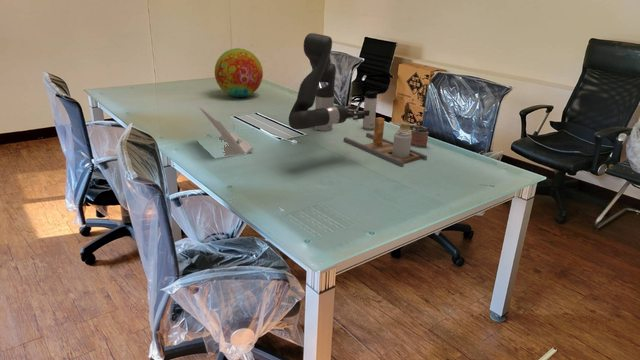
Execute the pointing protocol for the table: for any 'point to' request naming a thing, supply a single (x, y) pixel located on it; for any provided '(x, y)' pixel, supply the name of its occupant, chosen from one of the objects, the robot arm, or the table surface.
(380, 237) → the table surface
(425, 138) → the lighter
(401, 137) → the can
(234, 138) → the tablet stand
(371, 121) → the travel mug
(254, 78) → the globe
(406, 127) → the hand bell
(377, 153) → the rail
